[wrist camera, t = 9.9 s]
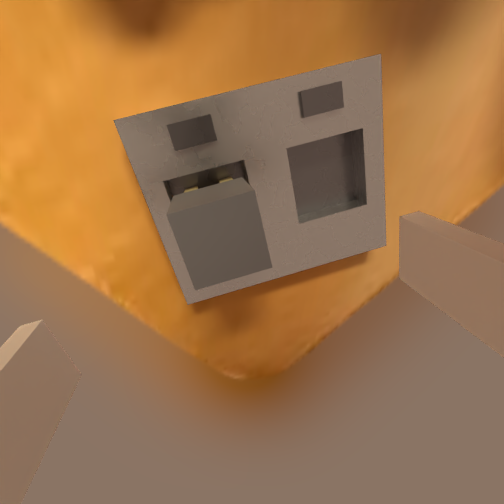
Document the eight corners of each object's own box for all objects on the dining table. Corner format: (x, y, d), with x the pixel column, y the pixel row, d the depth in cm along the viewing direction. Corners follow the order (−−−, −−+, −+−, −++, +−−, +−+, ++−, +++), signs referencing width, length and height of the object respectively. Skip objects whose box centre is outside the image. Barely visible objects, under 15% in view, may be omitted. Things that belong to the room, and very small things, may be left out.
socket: (122, 121, 22) (111, 120, 19) (363, 61, 23) (384, 52, 20) (188, 290, 28) (187, 307, 26) (371, 237, 30) (388, 247, 27)
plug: (177, 184, 24) (166, 214, 15) (234, 169, 24) (254, 190, 15) (196, 237, 26) (195, 290, 17) (248, 223, 26) (272, 267, 18)
